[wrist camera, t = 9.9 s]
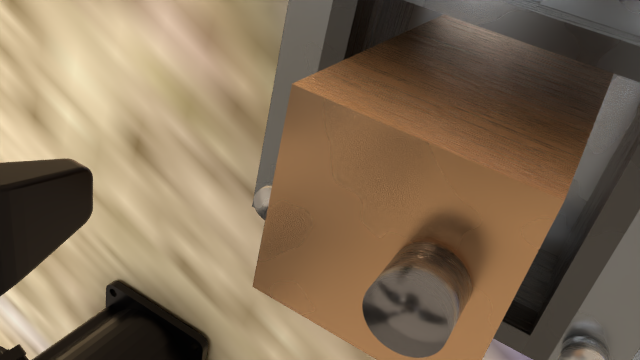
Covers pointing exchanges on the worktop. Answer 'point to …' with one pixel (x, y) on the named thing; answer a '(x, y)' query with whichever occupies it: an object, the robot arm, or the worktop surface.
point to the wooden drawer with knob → (423, 186)
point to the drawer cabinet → (588, 182)
